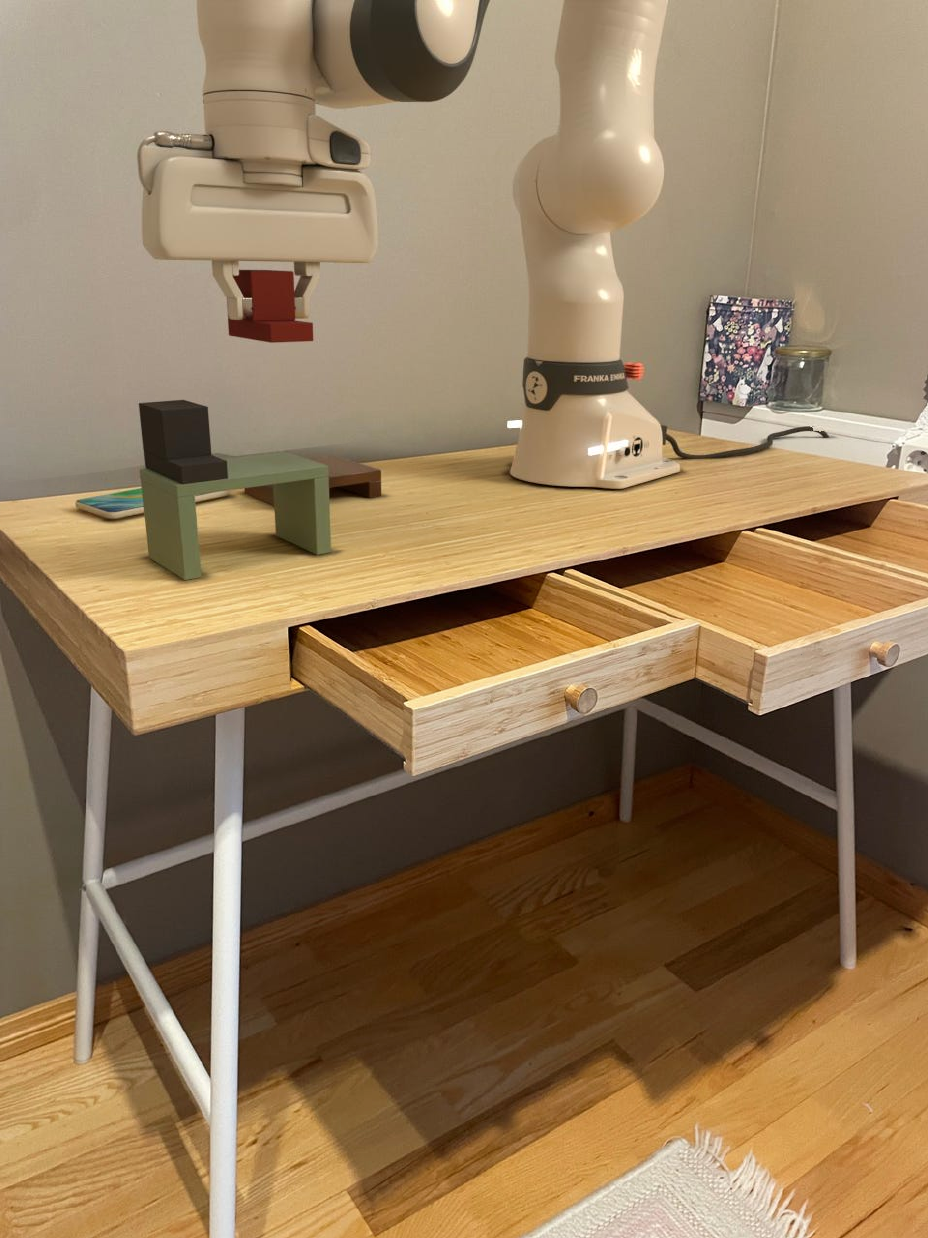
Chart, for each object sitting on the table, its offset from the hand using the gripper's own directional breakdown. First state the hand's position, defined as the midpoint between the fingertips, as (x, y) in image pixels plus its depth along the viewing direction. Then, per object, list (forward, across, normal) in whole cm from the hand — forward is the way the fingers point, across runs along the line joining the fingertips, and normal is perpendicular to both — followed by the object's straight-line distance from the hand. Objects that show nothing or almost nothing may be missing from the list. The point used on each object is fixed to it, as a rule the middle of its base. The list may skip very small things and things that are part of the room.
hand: (270, 318), depth 83 cm
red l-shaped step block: (+2, 0, 0) cm, 2 cm away
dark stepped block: (+12, -9, -1) cm, 15 cm away
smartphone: (+20, -3, +22) cm, 30 cm away
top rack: (+20, -4, -1) cm, 21 cm away
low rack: (+20, +13, +16) cm, 29 cm away
